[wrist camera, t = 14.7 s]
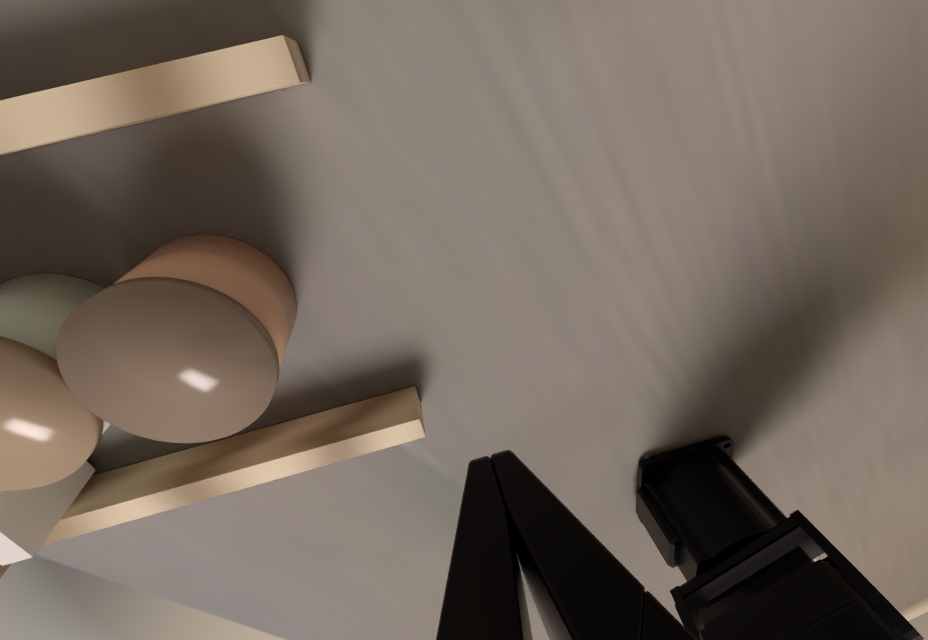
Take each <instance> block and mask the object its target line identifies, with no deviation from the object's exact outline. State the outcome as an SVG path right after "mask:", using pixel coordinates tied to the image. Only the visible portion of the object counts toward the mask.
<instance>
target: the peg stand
mask: <svg viewBox="0 0 928 640" xmlns="http://www.w3.org/2000/svg"><path fill="white" fill-rule="evenodd" d="M94 472H95V469H94V468H93V467H92V466H91V465H90V464H89V463H88V462H87V461H85V463H84V464H83V465H82V466H81V467H80V468H79V469H78V470H77V471H75V472H74V473H72V474H71V475H69V476H68V477H66V478H64V479H62V480H60V481H57V482H55V483H52V484H49V485H45V486H41V487H37V488H31V489H25V490H12V491H0V565H2V566H4V565H7V564H11V563H14V562H18V561H21V560H25V559H28V558H32V557H33V556H34V555H35V554H36V552H37V551H38V549H39V548H40V547H41V545H42V544H43V543H44V541H45V540H46V538H47V537H48V536H49V534H50V533H51V531H52V530H53V529H54V527H55V526H56V525H57V523H58V522H59V520H60V519H61V518H62V516H63V515H64V513H65V512H66V511H67V509H68V508H69V507H70V505H71V504H72V502H73V501H74V500H75V498H76V497H77V495H78V494H79V493H80V491H81V490H82V489H83V487H84V486H85V484H86V483H87V482H88V480H89V479H90V477H91V476H92V475H93V473H94Z"/></svg>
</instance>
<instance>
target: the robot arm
mask: <svg viewBox="0 0 928 640" xmlns="http://www.w3.org/2000/svg"><path fill="white" fill-rule="evenodd" d="M733 447H734V441H733V440H732V439H731V438H730V437H729V436H723V437H719V438H716V439H712V440H709V441H706V442H702V443H699V444H695V445H692V446H689V447H685V448H682V449H679V450H675V451H672V452H668V453H665V454H662V455H658V456H655V457H651V458H648V459H645V460H643V461H641V462H640V464H639V466H638V488H637V491H636V513H637V515H638V518H639V520H640V521H641V523H643V525H644V526H645V528H646V530H647V531H648V533H649V535H650V536H651V538H652V540H653V541H654V543H655V545H656V546H657V548H658V550H659V551H660V553H661V555H662V556H663V558H664V560H665V561H666V563H667V565H669V566H671V567H672V568H673V567H676V566H678V567H679V569H680V571H681V572H682V574H683V576H684V577H685V579H686V580H687V582H686V583H684V584H683V585H681V586H680V587H679V586H676V587H675V588H673V589H671V590H670V592H671V595H672V597H673V599H674V601H675V607H676V610H677V612H678V614H679V616H680V619H681V621H682V623H683V625H684V626H683V625H682V624H681V623H680V622H679V621H678V620H677V619H676V618H675V617H674V616H673V615H671V614H670V613H669V612H668V611H667V610H666V609H665V607H664V606H663V605H662V604H661V603H660V602H659V601H658V600H657V599H656V598H655V597H654V596H653V595H652V594H651V593H650V592H648V591H646V592H645V588H644V586H643V585H642V584H641V583H640V582H639V581H638V580H637V579H636V578H635V577H634V576H633V575H632V574H631V573H630V572H629V571H628V570H627V569H626V568H625V567H624V566H623V565H622V564H621V563H620V562H619V561H618V560H617V559H616V558H615V557H614V556H613V555H612V554H611V553H610V551H609V550H608V549H607V548H606V547H605V546H604V545H603V544H602V543H601V542H600V541H599V540H598V539H597V538H596V537H595V536H594V535H593V534H592V533H591V532H590V531H589V530H588V529H587V528H586V527H585V526H584V525H583V524H582V523H581V522H580V521H579V520H578V519H577V518H576V517H575V516H574V515H573V514H572V513H571V512H570V511H569V509H568V508H567V507H566V506H565V505H564V504H563V503H562V502H561V501H560V500H559V499H558V498H557V497H556V496H555V495H554V494H553V493H552V492H551V491H550V490H549V489H548V488H547V487H546V486H545V485H544V484H543V483H542V482H541V481H540V480H539V479H538V478H537V477H536V476H535V475H534V474H533V473H532V472H531V471H530V470H529V469H528V468H527V466H526V465H525V464H524V463H523V462H522V461H521V460H520V459H519V458H518V457H517V456H516V455H515V454H514V453H513V452H511V451H510V450H505V451H502V452H498V453H495V454H492V456H491V459H490V457H488V456H484V457H481V458H477V459H474V460H471V461H470V463H469V465H468V470H467V476H466V481H465V487H464V492H463V497H462V503H461V508H460V513H459V519H458V524H457V530H456V535H455V540H454V546H453V551H452V557H451V562H450V567H449V573H448V578H447V584H446V589H445V594H444V600H443V605H442V610H441V616H440V621H439V627H438V632H437V637H436V640H533V639H532V633H531V627H530V621H529V615H528V609H527V603H526V597H525V591H524V585H523V580H522V575H521V570H520V566H521V569H522V572H523V575H524V577H525V580H526V582H527V585H528V587H529V590H530V592H531V595H532V597H533V599H534V602H535V604H536V607H537V609H538V612H539V614H540V617H541V619H542V621H543V624H544V626H545V629H546V631H547V634H548V636H549V638H550V640H923V639H924V638H923V637H922V636H921V635H920V634H919V633H918V632H917V631H916V629H915V628H914V627H913V626H912V625H911V624H910V623H909V622H908V621H907V620H906V619H905V618H904V617H903V616H902V615H901V614H900V613H899V612H898V611H897V610H896V609H895V607H894V606H893V605H892V604H891V603H890V602H889V601H888V600H887V599H886V598H885V597H884V596H883V595H882V594H881V593H880V592H879V591H878V590H877V589H876V588H875V587H874V586H873V585H872V584H871V583H870V582H869V581H868V580H867V579H866V578H865V577H864V576H863V575H862V574H861V573H860V572H859V571H858V570H857V569H856V568H855V567H854V566H853V565H852V564H851V563H850V562H849V561H848V560H847V559H846V558H845V557H844V556H843V555H842V554H841V553H840V552H839V551H838V550H837V549H836V548H835V547H834V546H833V545H832V544H831V543H830V542H829V541H828V540H827V539H826V538H825V537H824V536H823V535H822V534H821V533H820V532H819V531H818V530H817V529H816V528H815V527H814V525H813V524H812V523H811V522H810V521H809V520H808V519H807V518H806V517H805V516H804V515H803V514H802V513H801V512H800V511H799V510H796V511H794V512H793V513H791V514H790V517H789V518H787V517H786V516H785V515H784V514H783V513H782V512H781V511H780V510H779V509H778V508H777V507H776V506H775V504H774V503H773V502H772V501H771V500H770V499H769V498H768V497H767V496H766V495H765V494H764V493H763V492H762V491H761V490H760V488H759V487H758V486H757V485H756V484H755V483H754V482H753V481H752V480H751V479H750V478H749V477H748V476H747V475H746V474H745V472H744V471H743V470H742V469H741V468H740V467H739V466H738V465H737V464H736V463H735V462H734V461H733V460H732V459H731V458H732V452H733ZM824 552H825V553H826V555H827V556H828V557H826V558H824V559H823V560H818V561H816V562H814V561H813V559H814V558H816V557H818V556H819V555H821V554H823V553H824ZM518 560H519V561H518ZM519 563H520V566H519Z"/></svg>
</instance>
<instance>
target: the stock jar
mask: <svg viewBox="0 0 928 640" xmlns="http://www.w3.org/2000/svg"><path fill="white" fill-rule="evenodd" d="M101 289H103V287H102V286H99V285H97V284H94V283H92V282H89V281H86V280H83V279H80V278H76V277H71V276H67V275H59V274H31V275H25V276H20V277H17V278H14V279H11V280H9V281H7V282H5V283H3V284H1V285H0V491H12V490H25V489H31V488H37V487H41V486H45V485H49V484H52V483H55V482H57V481H60V480H62V479H64V478H66V477H68V476H69V475H71V474H72V473H74V472H75V471H77V470H78V469H79V468H80V467H81V466H82V465H83V464H84V463H85V461H86V460H87V459H88V458H89V456H90V455H91V454H92V452H93V451H94V450H95V448H96V447H97V445H98V444H99V442H100V440H101V437H102V434H103V433H104V432H105V430H106V429H107V428H108V427H109V425H110V424H109V423H107V422H105V421H104V420H102V419H101V418H99V417H98V416H96V415H95V414H93V413H92V412H91V411H90V410H89V409H87V408H86V407H85V406H84V405H83V404H82V403H81V402H80V401H79V400H78V399H77V398H76V397H75V396H74V394H73V393H72V392H71V390H70V389H69V388H68V386H67V385H66V383H65V381H64V379H63V377H62V375H61V372H60V370H59V367H58V363H57V357H56V343H57V338H58V334H59V331H60V329H61V327H62V325H63V323H64V321H65V320H66V319H67V317H68V316H69V315H70V313H71V312H72V311H73V310H75V309H76V308H77V307H78V306H79V305H80V304H81V303H83V302H84V301H85V300H87V299H88V298H89V297H91V296H92V295H94V294H95V293H97V292H98V291H100V290H101Z"/></svg>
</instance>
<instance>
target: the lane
mask: <svg viewBox="0 0 928 640" xmlns="http://www.w3.org/2000/svg"><path fill="white" fill-rule="evenodd" d="M310 82H311V80H310V77H309V74H308V72H307V69H306V66H305V63H304V60H303V57H302V54H301V51H300V48H299V45H298V42H297V41H295V40H292V39H290V38H288V37H286V36H284V35H281V36H277V37H272V38H268V39H264V40H259V41H255V42H251V43H246V44H242V45H238V46H233V47H229V48H225V49H220V50H216V51H212V52H207V53H203V54H199V55H195V56H190V57H186V58H182V59H177V60H173V61H169V62H164V63H160V64H156V65H151V66H147V67H143V68H138V69H134V70H130V71H125V72H121V73H117V74H112V75H108V76H104V77H99V78H95V79H91V80H86V81H82V82H78V83H73V84H69V85H65V86H60V87H56V88H52V89H47V90H43V91H39V92H34V93H30V94H26V95H21V96H17V97H13V98H9V99H4V100H0V156H3V155H7V154H11V153H15V152H20V151H24V150H28V149H32V148H36V147H41V146H45V145H49V144H53V143H57V142H62V141H66V140H70V139H74V138H78V137H83V136H87V135H91V134H95V133H99V132H104V131H108V130H112V129H116V128H121V127H125V126H129V125H133V124H137V123H142V122H146V121H150V120H154V119H158V118H163V117H167V116H171V115H175V114H179V113H184V112H188V111H192V110H196V109H200V108H205V107H209V106H213V105H217V104H222V103H226V102H230V101H234V100H238V99H243V98H247V97H251V96H255V95H259V94H264V93H268V92H272V91H276V90H280V89H285V88H289V87H293V86H297V85H301V84H306V83H310ZM423 437H426V436H425V429H424V421H423V414H422V407H421V402H420V399H419V396H418V393H417V390H416V387H415V386H413V387H410V388H406V389H402V390H399V391H395V392H392V393H388V394H384V395H381V396H377V397H374V398H370V399H366V400H363V401H359V402H356V403H352V404H348V405H345V406H341V407H338V408H334V409H330V410H327V411H323V412H320V413H316V414H312V415H309V416H305V417H302V418H298V419H294V420H291V421H287V422H284V423H280V424H276V425H273V426H269V427H266V428H262V429H258V430H255V431H251V432H248V433H244V434H240V435H237V436H233V437H230V438H226V439H222V440H219V441H215V442H211V443H208V444H204V445H201V446H197V447H193V448H190V449H186V450H183V451H179V452H175V453H172V454H168V455H165V456H161V457H157V458H154V459H150V460H147V461H143V462H139V463H136V464H132V465H129V466H125V467H121V468H118V469H114V470H111V471H107V472H103V473H100V474H96V475H93V476H91V477H90V479H89V480H88V482H87V483H86V484H85V486H84V487H83V489H82V490H81V491H80V493H79V494H78V495H77V497H76V498H75V500H74V501H73V502H72V504H71V505H70V507H69V508H68V509H67V511H66V512H65V513H64V515H63V516H62V518H61V519H60V520H59V522H58V523H57V525H56V526H55V527H54V529H53V530H52V531H51V533H50V534H49V536H48V537H47V538H46V540H45V541H44V543H43V544H42V545H41V546H43V545H47V544H50V543H54V542H57V541H61V540H64V539H68V538H71V537H75V536H78V535H82V534H86V533H89V532H93V531H96V530H100V529H103V528H107V527H110V526H114V525H117V524H121V523H124V522H128V521H131V520H135V519H138V518H142V517H145V516H149V515H152V514H156V513H159V512H163V511H166V510H170V509H174V508H177V507H181V506H184V505H188V504H191V503H195V502H198V501H202V500H205V499H209V498H212V497H216V496H219V495H223V494H226V493H230V492H233V491H237V490H240V489H244V488H247V487H251V486H254V485H258V484H262V483H265V482H269V481H272V480H276V479H279V478H283V477H286V476H290V475H293V474H297V473H300V472H304V471H307V470H311V469H314V468H318V467H321V466H325V465H328V464H332V463H335V462H339V461H342V460H346V459H350V458H353V457H357V456H360V455H364V454H367V453H371V452H374V451H378V450H381V449H385V448H388V447H392V446H395V445H399V444H402V443H406V442H409V441H413V440H416V439H420V438H423ZM10 565H11V564H7V565H4V566H2V565H0V578H1V577H2V575H3V574H4V573H5V571H6V570H7V568H8V567H9V566H10Z"/></svg>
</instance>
